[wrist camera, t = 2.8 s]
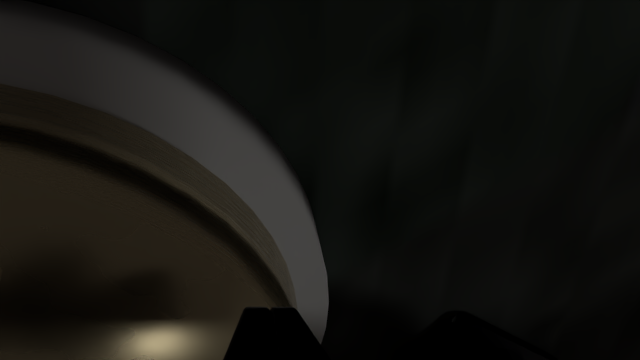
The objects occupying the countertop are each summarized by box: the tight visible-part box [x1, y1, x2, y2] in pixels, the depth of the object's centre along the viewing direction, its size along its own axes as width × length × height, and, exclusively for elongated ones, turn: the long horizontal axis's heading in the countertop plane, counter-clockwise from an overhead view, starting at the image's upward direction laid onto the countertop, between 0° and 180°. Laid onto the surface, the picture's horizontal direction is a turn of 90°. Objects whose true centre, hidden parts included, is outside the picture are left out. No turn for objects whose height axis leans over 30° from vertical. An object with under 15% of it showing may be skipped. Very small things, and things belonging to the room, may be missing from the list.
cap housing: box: [0, 0, 329, 344], centre depth 15 cm, size 18×18×2 cm
